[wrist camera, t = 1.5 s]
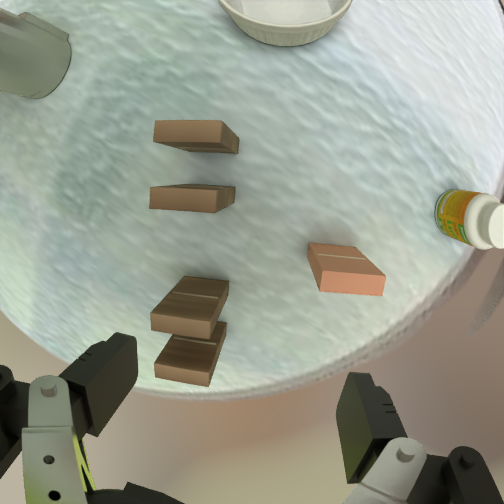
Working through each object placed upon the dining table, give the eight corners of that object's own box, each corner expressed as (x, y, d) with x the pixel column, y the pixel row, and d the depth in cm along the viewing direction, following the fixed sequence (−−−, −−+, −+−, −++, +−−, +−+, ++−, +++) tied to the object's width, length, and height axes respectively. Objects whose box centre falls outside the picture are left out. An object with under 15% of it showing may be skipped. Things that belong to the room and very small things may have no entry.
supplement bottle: (425, 219, 30) (473, 235, 21) (447, 179, 29) (499, 183, 19) (455, 245, 30) (504, 267, 21) (476, 207, 29) (528, 219, 20)
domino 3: (184, 275, 34) (150, 312, 24) (229, 280, 33) (209, 321, 24) (184, 289, 34) (151, 330, 24) (228, 295, 34) (209, 339, 24)
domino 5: (309, 242, 32) (322, 270, 22) (355, 247, 31) (386, 275, 22) (307, 257, 32) (319, 291, 22) (353, 262, 32) (382, 296, 22)
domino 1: (191, 136, 30) (155, 120, 20) (239, 138, 30) (221, 120, 20) (190, 151, 31) (153, 141, 21) (237, 154, 30) (219, 142, 21)
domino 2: (187, 183, 31) (150, 186, 22) (235, 186, 31) (216, 190, 21) (186, 199, 32) (149, 208, 22) (234, 202, 31) (214, 213, 22)
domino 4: (184, 316, 35) (153, 363, 25) (226, 322, 35) (208, 372, 25) (184, 329, 35) (155, 377, 26) (226, 334, 35) (208, 387, 25)
